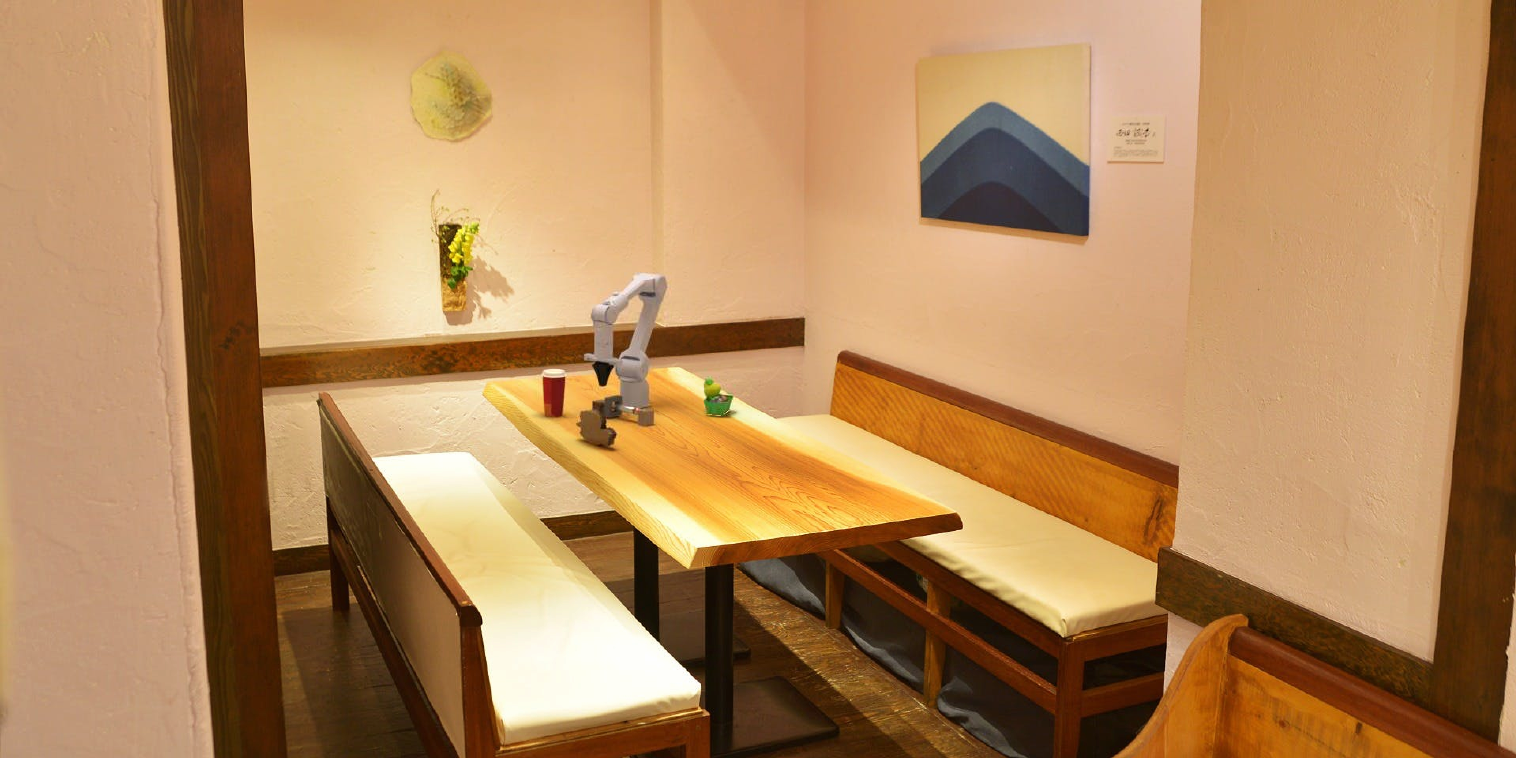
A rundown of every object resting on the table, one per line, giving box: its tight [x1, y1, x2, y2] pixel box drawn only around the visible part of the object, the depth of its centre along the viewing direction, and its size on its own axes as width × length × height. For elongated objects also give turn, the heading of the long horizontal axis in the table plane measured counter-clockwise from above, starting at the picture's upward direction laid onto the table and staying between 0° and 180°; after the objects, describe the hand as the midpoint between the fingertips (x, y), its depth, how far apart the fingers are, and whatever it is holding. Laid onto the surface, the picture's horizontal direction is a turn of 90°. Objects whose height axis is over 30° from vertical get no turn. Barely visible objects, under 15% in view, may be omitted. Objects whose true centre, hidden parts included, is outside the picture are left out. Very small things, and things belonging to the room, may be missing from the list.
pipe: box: [591, 399, 655, 427], centre depth 399 cm, size 22×4×5 cm, turn 54°
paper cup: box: [540, 368, 567, 418], centre depth 401 cm, size 8×8×14 cm
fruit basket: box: [703, 377, 734, 417], centre depth 412 cm, size 11×9×11 cm
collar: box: [603, 394, 623, 418], centre depth 402 cm, size 2×6×6 cm, turn 144°
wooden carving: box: [575, 409, 618, 447], centre depth 368 cm, size 16×5×10 cm, turn 48°
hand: (602, 385), depth 403 cm, fingers closed
